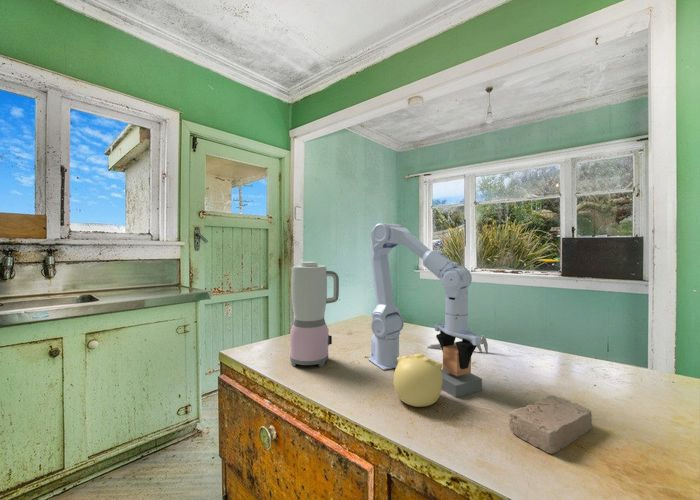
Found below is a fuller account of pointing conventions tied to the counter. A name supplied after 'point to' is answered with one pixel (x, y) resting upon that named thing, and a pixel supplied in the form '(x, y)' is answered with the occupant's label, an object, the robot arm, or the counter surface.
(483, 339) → the caliper
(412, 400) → the sculpture
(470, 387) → the base
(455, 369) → the block
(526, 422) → the brick
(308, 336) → the blender
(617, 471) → the counter surface
